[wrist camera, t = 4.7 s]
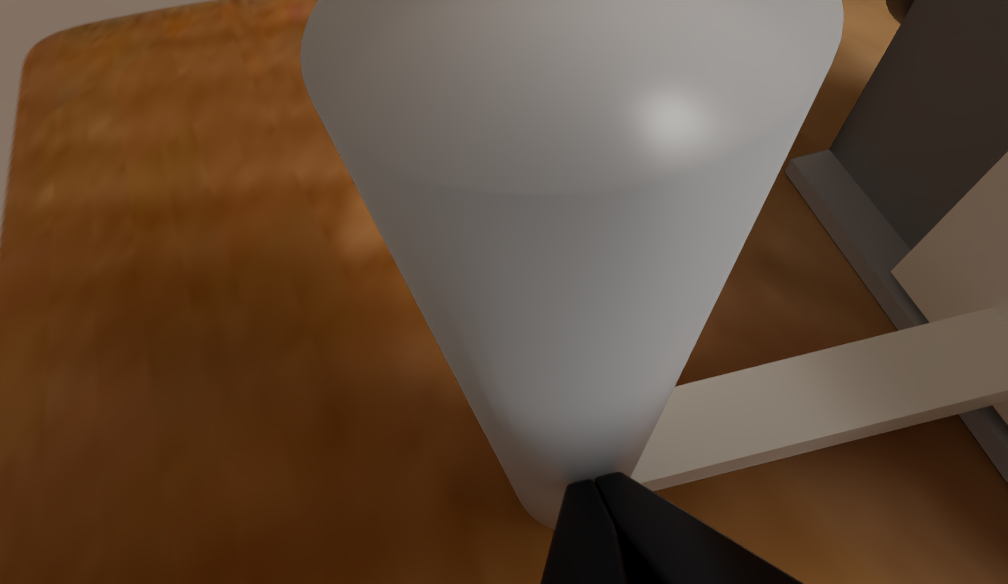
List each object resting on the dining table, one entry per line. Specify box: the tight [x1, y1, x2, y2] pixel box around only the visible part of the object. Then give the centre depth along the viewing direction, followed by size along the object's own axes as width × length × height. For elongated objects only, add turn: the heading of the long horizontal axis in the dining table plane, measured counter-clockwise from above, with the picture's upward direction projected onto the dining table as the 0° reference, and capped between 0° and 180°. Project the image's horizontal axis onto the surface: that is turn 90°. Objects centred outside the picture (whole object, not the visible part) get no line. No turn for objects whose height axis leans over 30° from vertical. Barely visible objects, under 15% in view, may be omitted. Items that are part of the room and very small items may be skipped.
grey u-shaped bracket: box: [300, 0, 1008, 530], centre depth 8 cm, size 8×14×13 cm, turn 102°
